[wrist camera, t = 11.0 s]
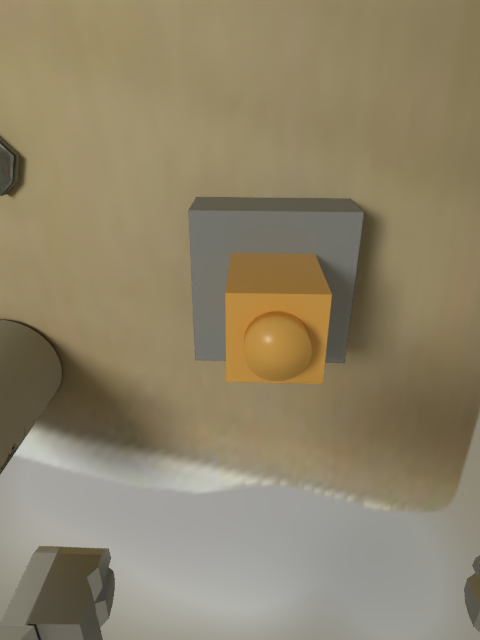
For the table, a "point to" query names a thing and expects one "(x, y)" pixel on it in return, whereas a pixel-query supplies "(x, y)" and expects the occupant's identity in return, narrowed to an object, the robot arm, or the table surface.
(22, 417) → the travel mug
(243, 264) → the orange cube with knob
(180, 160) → the table surface
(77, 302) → the table surface
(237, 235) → the box
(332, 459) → the table surface
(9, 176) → the wrench
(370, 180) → the table surface
